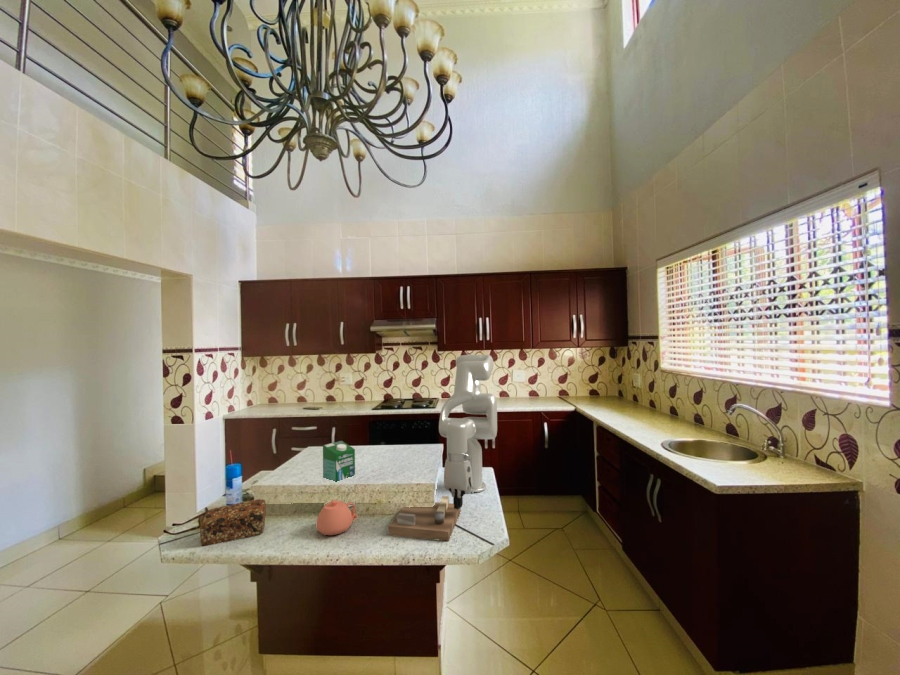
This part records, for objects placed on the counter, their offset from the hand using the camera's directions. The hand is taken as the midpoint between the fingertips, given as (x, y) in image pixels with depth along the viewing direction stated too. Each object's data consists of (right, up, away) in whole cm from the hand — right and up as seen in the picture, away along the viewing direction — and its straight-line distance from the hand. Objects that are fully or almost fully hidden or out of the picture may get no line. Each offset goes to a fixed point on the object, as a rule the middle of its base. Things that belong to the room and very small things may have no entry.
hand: (458, 507), depth 129 cm
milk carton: (-48, -7, +14) cm, 50 cm away
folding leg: (-6, -2, 0) cm, 6 cm away
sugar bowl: (-43, -6, -4) cm, 43 cm away
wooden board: (-11, -5, -1) cm, 12 cm away
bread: (-78, -7, -6) cm, 78 cm away
